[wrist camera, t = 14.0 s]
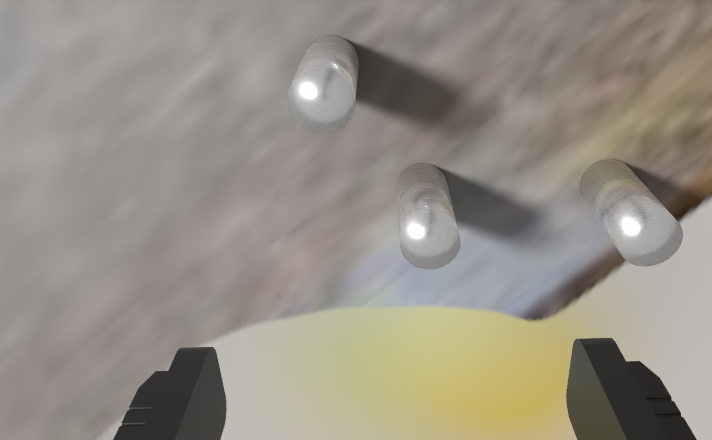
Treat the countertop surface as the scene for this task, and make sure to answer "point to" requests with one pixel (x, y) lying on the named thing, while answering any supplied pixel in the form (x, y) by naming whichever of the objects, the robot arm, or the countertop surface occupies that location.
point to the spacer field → (429, 186)
